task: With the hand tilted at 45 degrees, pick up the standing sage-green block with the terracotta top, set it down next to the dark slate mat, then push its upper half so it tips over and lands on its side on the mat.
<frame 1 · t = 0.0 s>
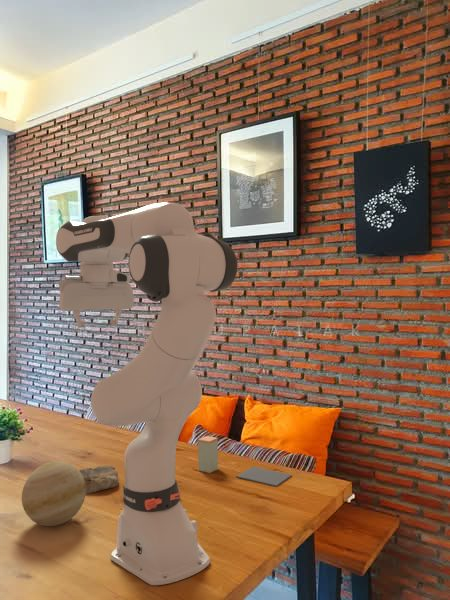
hand: (97, 326, 132), 48 cm above the table, tool pointing down, fingers open, 8 cm apart
clay tablet: (84, 488, 143), on the table
mat: (264, 476, 148), on the table
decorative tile: (154, 496, 136), on the table
decorative ball: (54, 523, 119), on the table
block: (208, 469, 155), on the table
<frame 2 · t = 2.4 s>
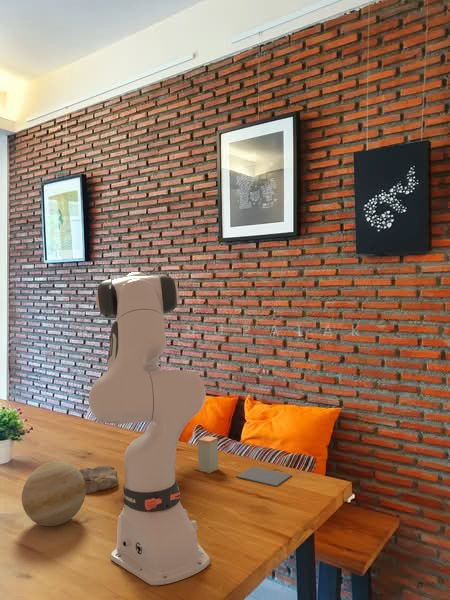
hand: (177, 413, 162), 16 cm above the table, tool tilted 45°, fingers open, 8 cm apart
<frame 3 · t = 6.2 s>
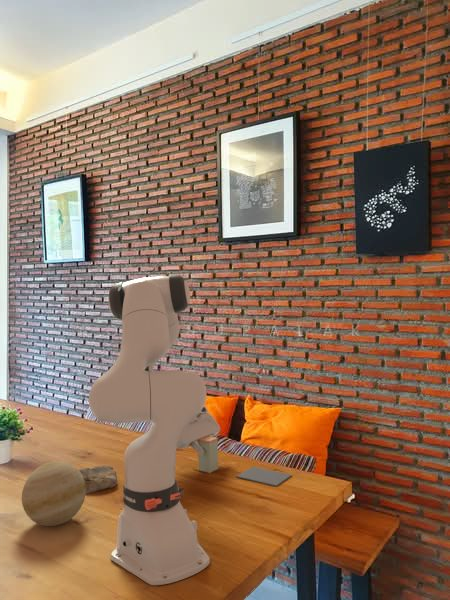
hand: (209, 451, 155), 6 cm above the table, tool tilted 45°, fingers closed on block, 4 cm apart
block: (208, 469, 155), on the table, touching gripper
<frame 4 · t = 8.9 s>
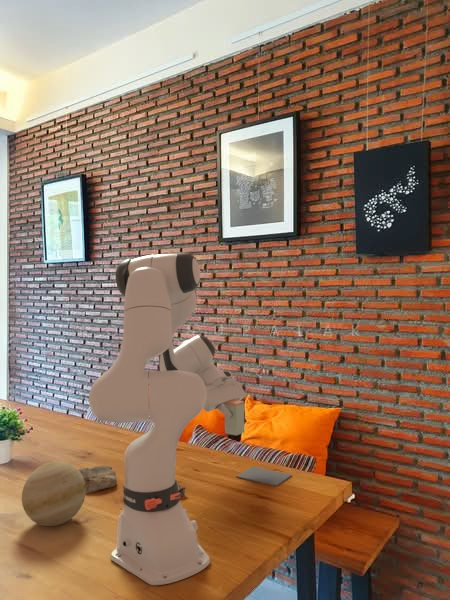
hand: (236, 414, 154), 18 cm above the table, tool tilted 45°, fingers closed on block, 4 cm apart
block: (234, 432, 154), point 12 cm above the table, touching gripper
when the fingers open (7 cm above the table, at t = 11.6 s): block stays where it is, on the table.
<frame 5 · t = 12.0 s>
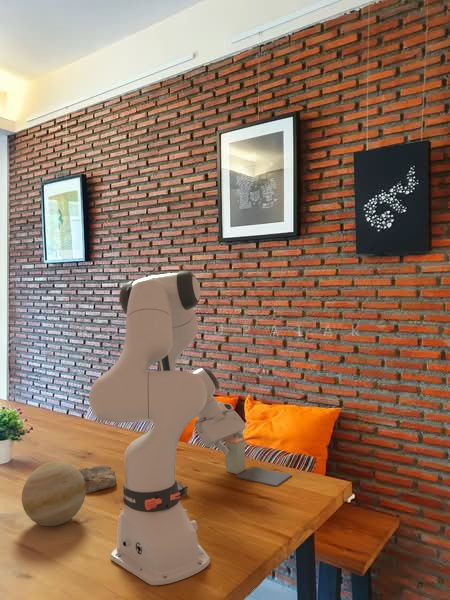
hand: (236, 449, 154), 7 cm above the table, tool tilted 45°, fingers open, 8 cm apart
block: (235, 470, 154), on the table
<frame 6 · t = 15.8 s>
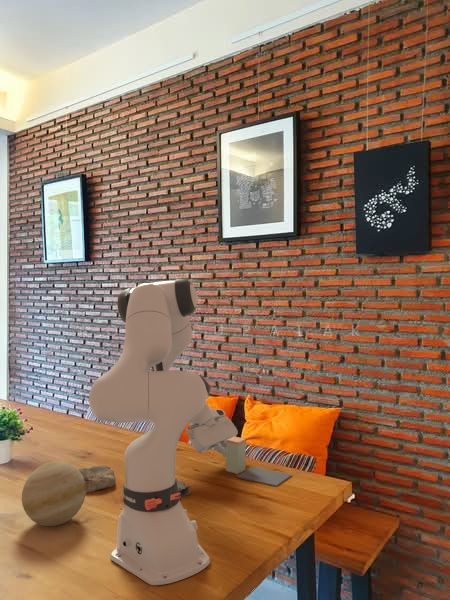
hand: (228, 455, 155), 4 cm above the table, tool tilted 45°, fingers closed, pressing on block
block: (235, 470, 154), on the table, touching gripper
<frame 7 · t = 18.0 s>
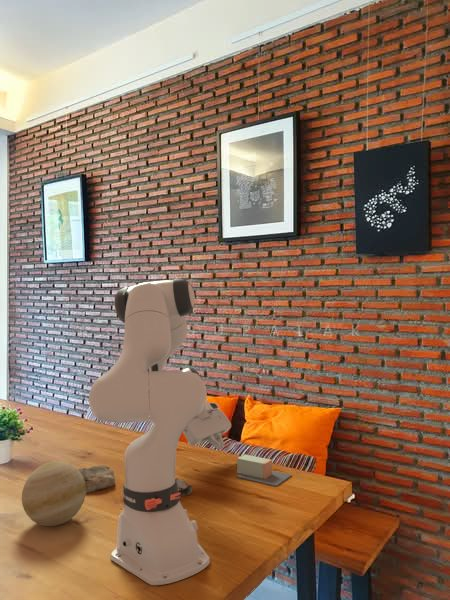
hand: (221, 447, 157), 6 cm above the table, tool tilted 45°, fingers closed
block: (241, 463, 153), point 3 cm above the table, tilted 90°, touching mat
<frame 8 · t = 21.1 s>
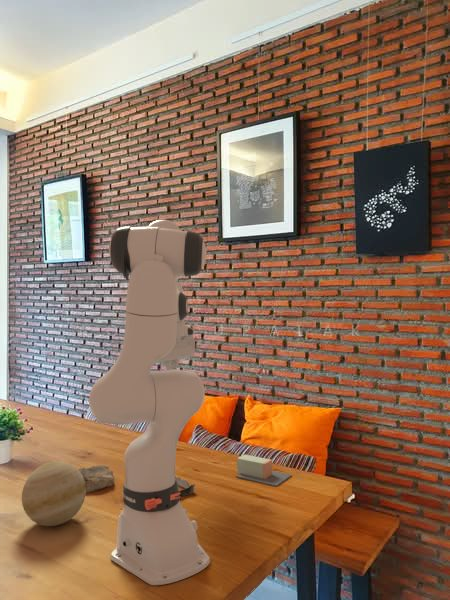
hand: (171, 373, 156), 31 cm above the table, tool pointing down, fingers closed
at the end: block tilted 90°; block 8.3 cm from the mat (horizontally); the gripper is holding nothing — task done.
